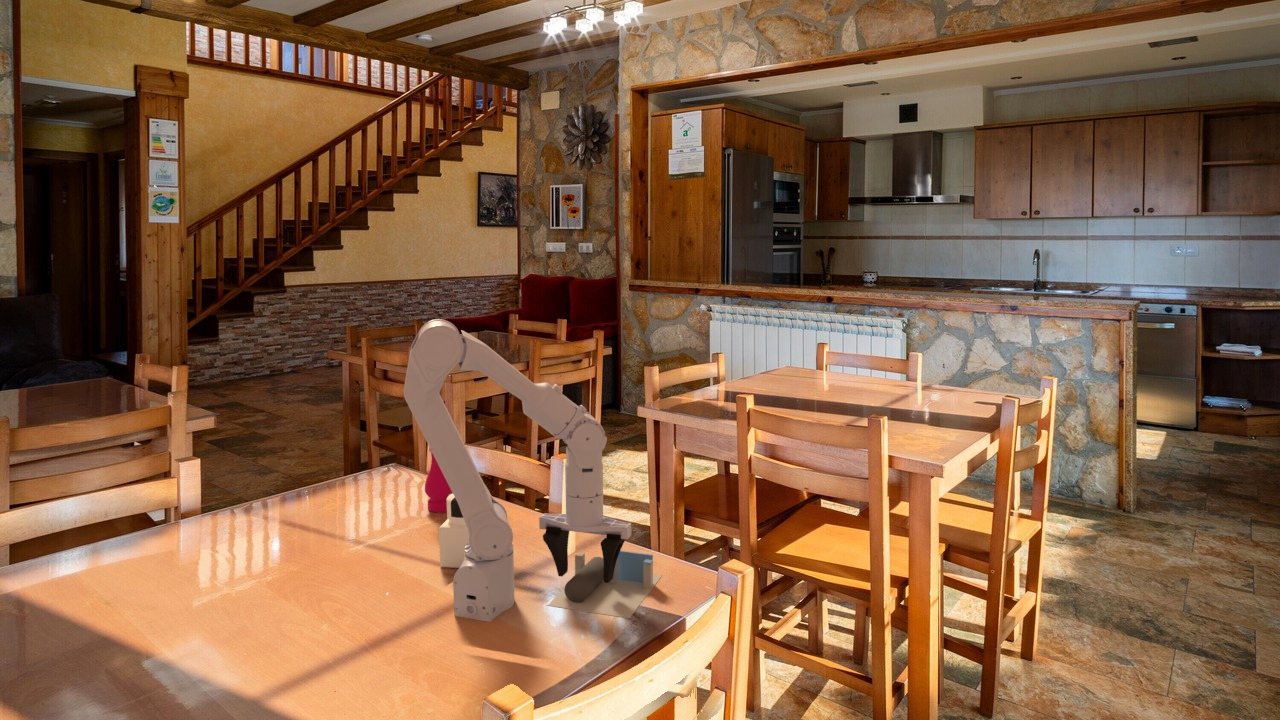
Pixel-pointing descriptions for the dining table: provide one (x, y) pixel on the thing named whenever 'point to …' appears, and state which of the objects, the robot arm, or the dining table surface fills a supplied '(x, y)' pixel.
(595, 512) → the robot arm
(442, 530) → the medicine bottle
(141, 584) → the dining table surface
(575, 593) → the dark brown cylinder post
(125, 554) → the dining table surface
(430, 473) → the pepper mill
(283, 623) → the dining table surface
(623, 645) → the dining table surface
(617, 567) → the base plate with posts
